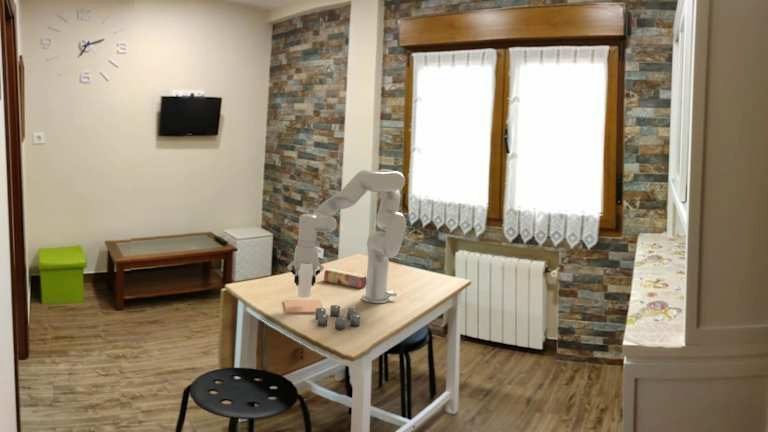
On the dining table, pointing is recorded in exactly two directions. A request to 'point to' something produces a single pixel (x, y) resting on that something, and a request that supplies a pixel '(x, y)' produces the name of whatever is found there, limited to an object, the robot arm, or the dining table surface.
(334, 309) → the spacer posts
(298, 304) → the terracotta tile
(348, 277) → the snack package
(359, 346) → the dining table surface
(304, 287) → the drinking glass
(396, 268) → the dining table surface
